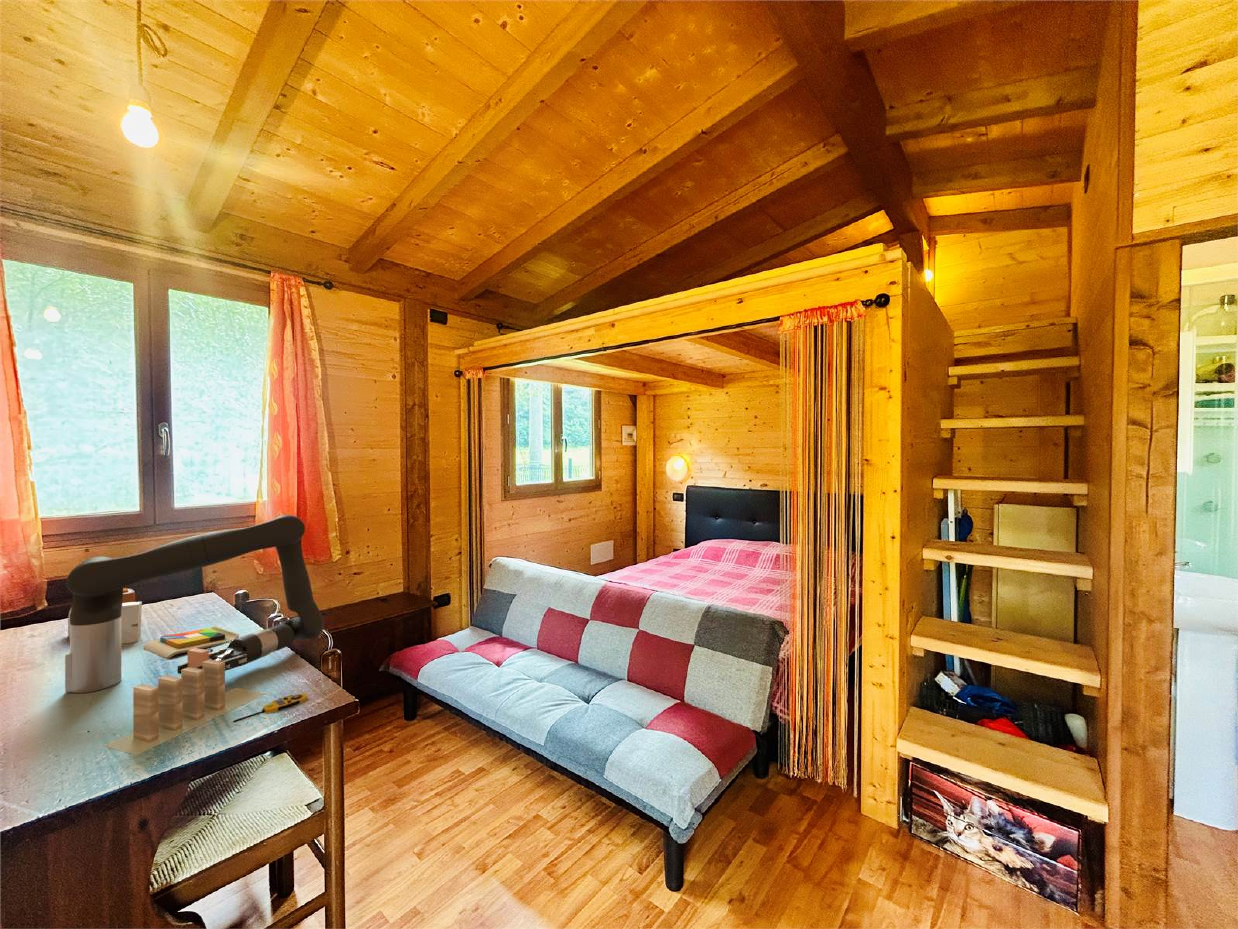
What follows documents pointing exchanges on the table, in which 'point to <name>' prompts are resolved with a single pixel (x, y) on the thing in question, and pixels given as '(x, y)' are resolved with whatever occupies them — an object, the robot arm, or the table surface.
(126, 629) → the skincare box
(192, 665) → the domino
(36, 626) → the table surface
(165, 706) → the domino
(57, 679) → the table surface
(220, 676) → the domino
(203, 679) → the domino
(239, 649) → the robot arm
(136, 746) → the mat
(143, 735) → the domino
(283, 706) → the yellow screwdriver
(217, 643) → the wooden puzzle
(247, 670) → the table surface
